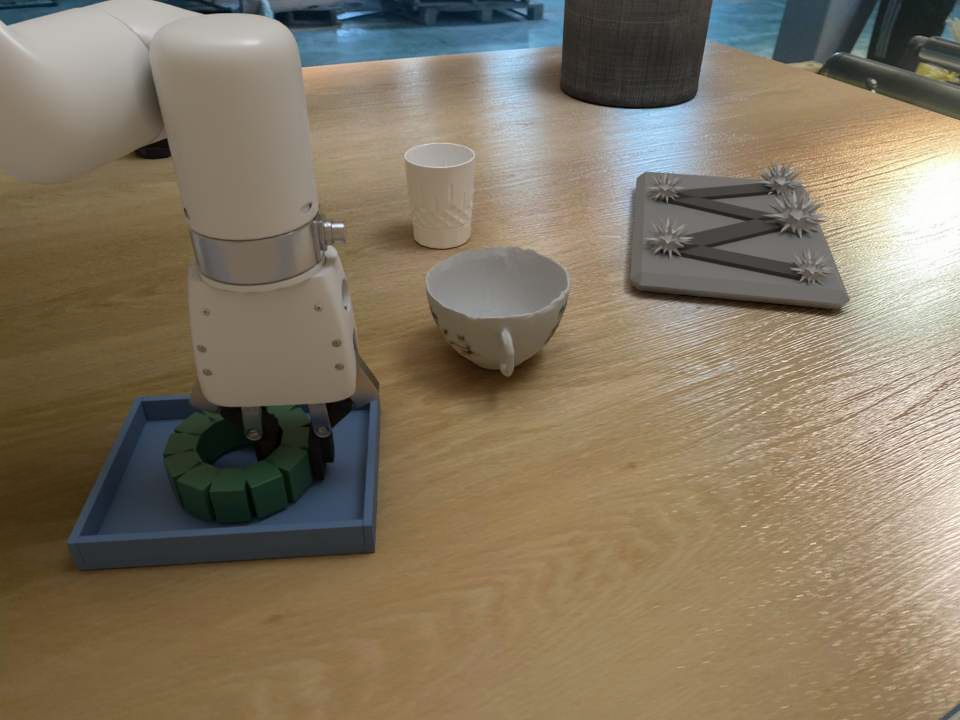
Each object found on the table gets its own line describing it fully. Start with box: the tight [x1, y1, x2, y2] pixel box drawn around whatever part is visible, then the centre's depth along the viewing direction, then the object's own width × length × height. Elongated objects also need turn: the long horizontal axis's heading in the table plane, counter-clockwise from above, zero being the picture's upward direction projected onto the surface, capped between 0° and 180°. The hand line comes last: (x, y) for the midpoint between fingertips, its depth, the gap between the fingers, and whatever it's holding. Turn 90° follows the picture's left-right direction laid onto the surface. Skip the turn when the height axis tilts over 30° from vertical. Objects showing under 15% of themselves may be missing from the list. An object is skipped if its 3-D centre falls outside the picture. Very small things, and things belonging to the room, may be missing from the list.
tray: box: [66, 394, 382, 571], centre depth 56 cm, size 19×15×3 cm
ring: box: [163, 405, 313, 523], centre depth 55 cm, size 10×10×3 cm
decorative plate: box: [629, 160, 851, 310], centre depth 87 cm, size 30×22×7 cm
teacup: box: [424, 245, 571, 378], centre depth 67 cm, size 15×12×8 cm
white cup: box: [403, 142, 476, 250], centre depth 87 cm, size 8×8×10 cm
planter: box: [559, 0, 714, 108], centre depth 135 cm, size 25×25×22 cm
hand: (298, 466), depth 56 cm, fingers closed on ring, 2 cm apart
